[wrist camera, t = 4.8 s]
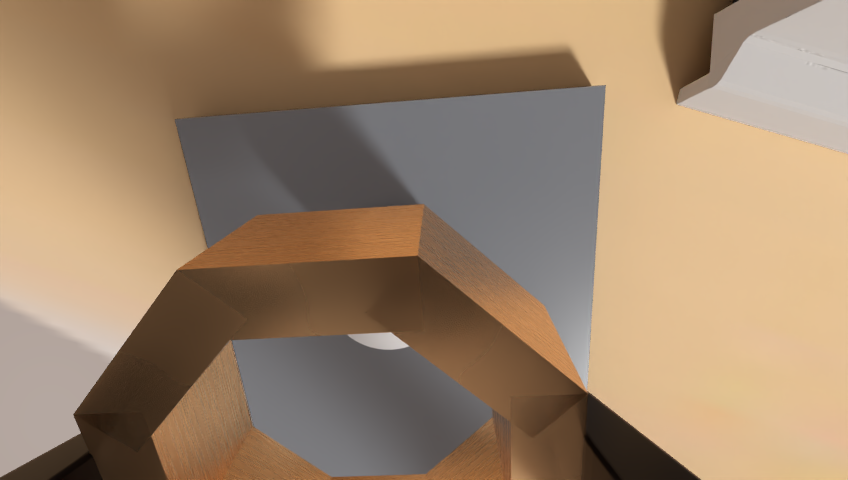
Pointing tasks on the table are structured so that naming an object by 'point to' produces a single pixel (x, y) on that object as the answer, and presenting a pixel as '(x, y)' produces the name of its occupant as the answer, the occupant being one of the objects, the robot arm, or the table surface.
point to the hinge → (779, 69)
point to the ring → (335, 315)
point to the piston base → (395, 186)
